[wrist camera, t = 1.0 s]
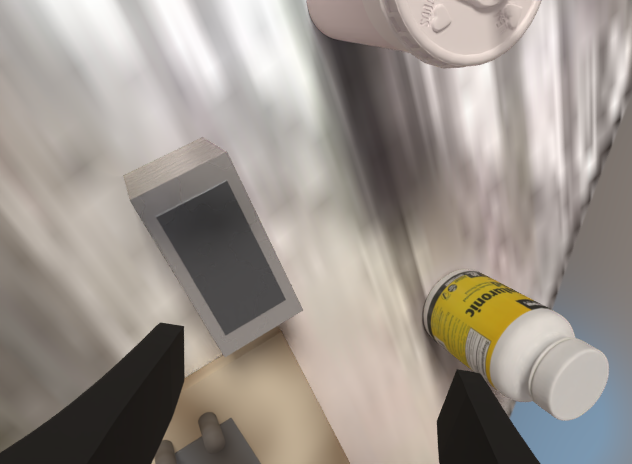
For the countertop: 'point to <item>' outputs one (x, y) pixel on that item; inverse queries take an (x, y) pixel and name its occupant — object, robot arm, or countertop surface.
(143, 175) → the grey box
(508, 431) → the robot arm
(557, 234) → the countertop surface
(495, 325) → the supplement bottle
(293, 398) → the beige peg board
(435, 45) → the smoothie
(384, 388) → the countertop surface
